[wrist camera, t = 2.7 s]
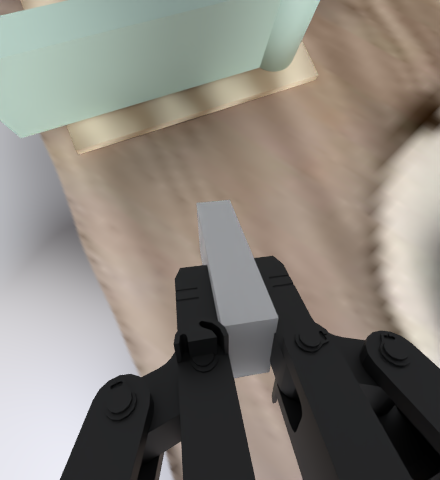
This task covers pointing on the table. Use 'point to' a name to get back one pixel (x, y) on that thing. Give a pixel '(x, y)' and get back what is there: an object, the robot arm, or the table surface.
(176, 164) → the table surface
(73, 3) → the link
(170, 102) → the pintle board
